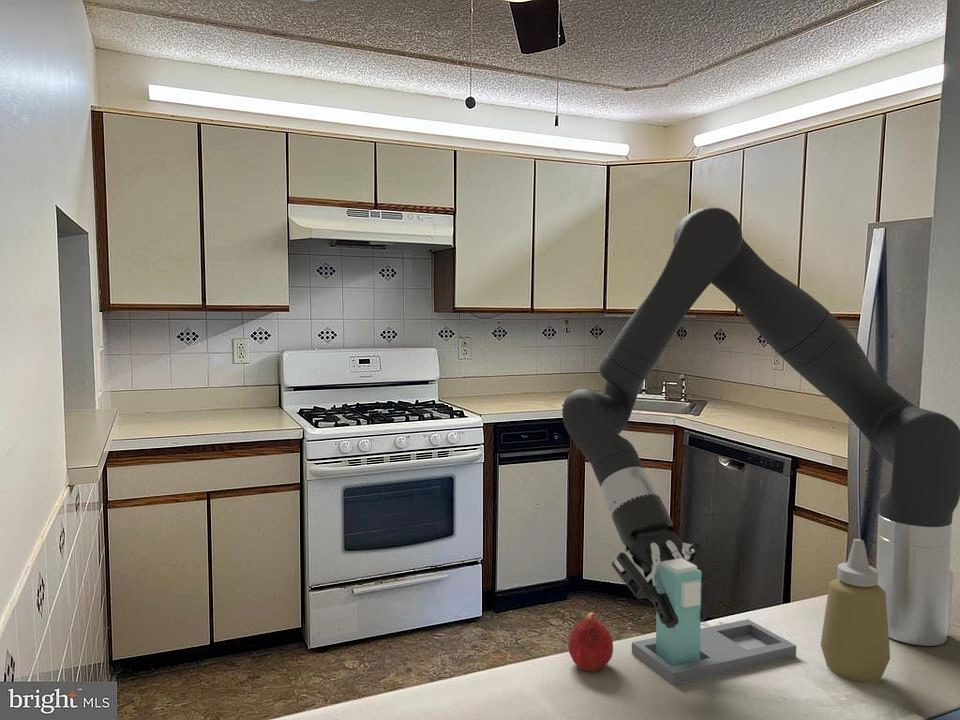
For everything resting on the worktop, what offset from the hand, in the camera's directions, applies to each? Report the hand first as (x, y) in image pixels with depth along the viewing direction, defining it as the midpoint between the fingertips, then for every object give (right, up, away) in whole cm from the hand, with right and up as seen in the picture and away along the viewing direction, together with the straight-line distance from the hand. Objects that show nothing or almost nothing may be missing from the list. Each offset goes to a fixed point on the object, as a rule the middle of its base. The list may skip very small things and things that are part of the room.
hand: (687, 622), depth 92 cm
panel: (+5, -7, +4) cm, 10 cm away
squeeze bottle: (+22, -8, +1) cm, 23 cm away
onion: (-12, -7, +1) cm, 15 cm away
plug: (-1, -5, +2) cm, 6 cm away
